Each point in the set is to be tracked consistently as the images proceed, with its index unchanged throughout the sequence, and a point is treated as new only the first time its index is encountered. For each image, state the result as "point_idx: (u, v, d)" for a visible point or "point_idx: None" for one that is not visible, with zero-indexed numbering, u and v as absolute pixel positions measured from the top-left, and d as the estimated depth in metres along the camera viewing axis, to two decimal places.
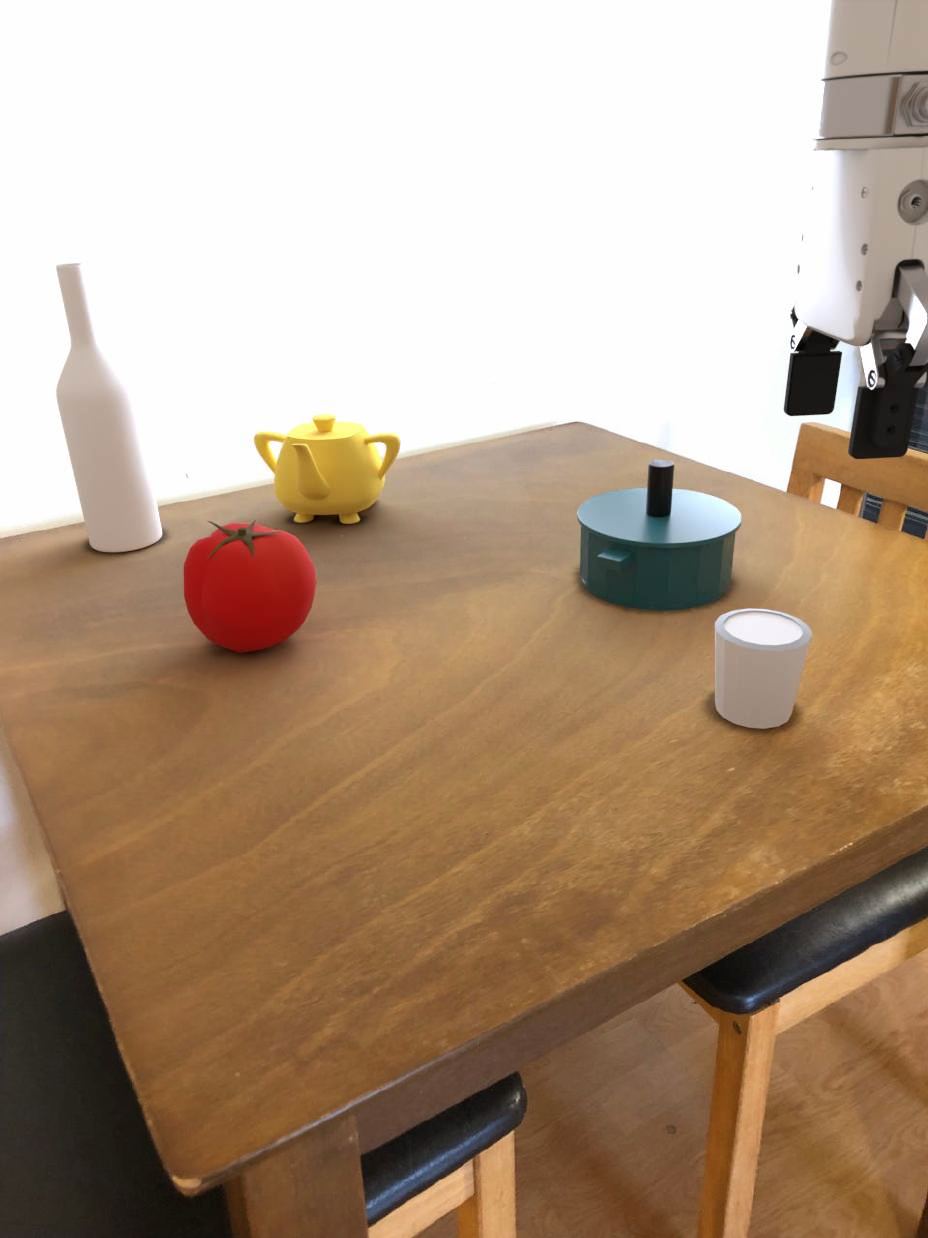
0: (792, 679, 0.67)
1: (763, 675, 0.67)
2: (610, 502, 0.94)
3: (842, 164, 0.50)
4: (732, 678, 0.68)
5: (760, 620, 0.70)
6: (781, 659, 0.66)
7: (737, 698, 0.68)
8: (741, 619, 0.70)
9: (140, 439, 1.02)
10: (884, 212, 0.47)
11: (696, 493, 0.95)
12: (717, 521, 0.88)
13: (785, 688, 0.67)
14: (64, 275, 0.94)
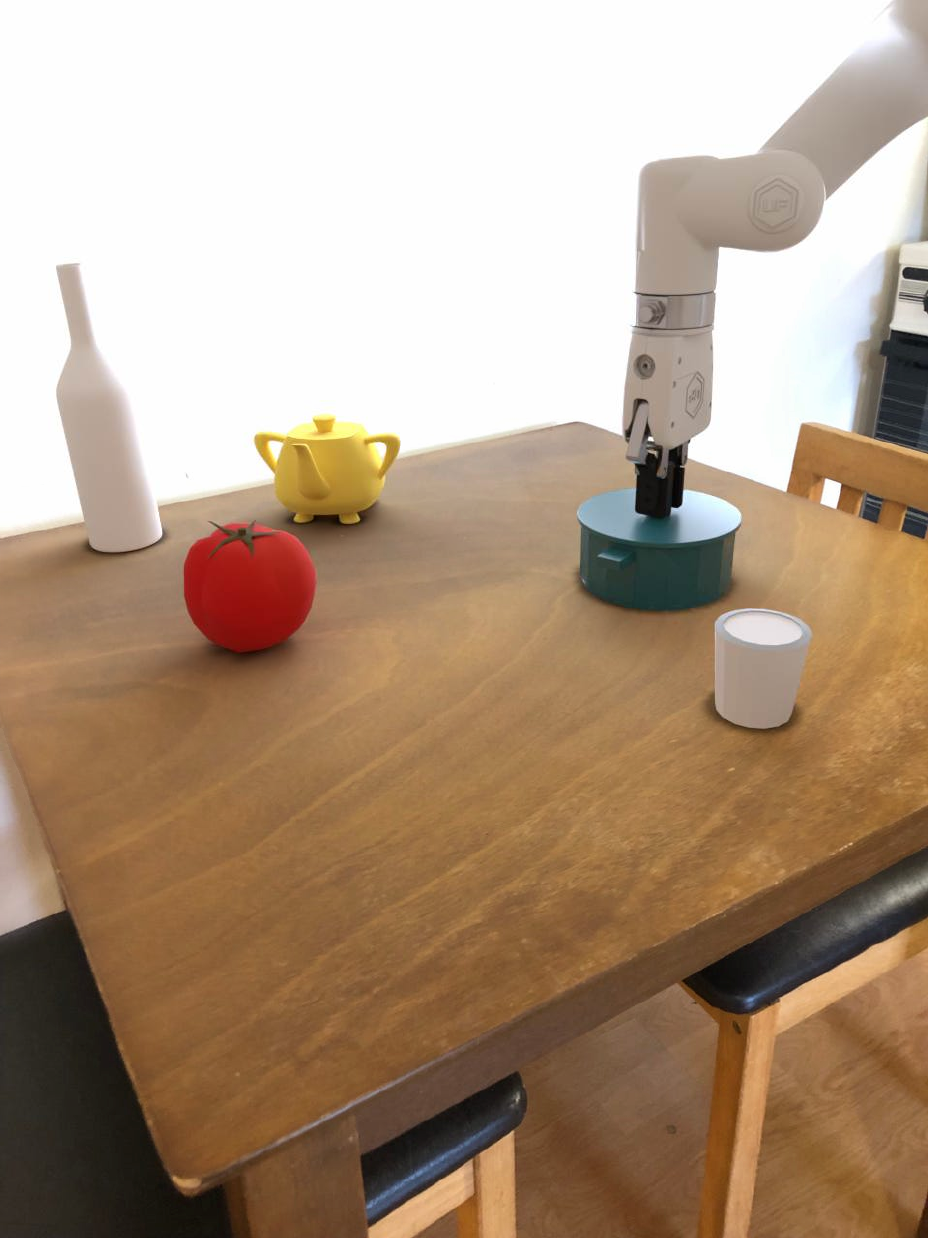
0: (792, 679, 0.67)
1: (763, 675, 0.67)
2: (610, 502, 0.94)
3: None
4: (732, 678, 0.68)
5: (760, 620, 0.70)
6: (781, 659, 0.66)
7: (737, 698, 0.68)
8: (741, 619, 0.70)
9: (140, 439, 1.02)
10: (628, 369, 0.82)
11: (696, 493, 0.95)
12: (717, 521, 0.88)
13: (785, 688, 0.67)
14: (64, 275, 0.94)
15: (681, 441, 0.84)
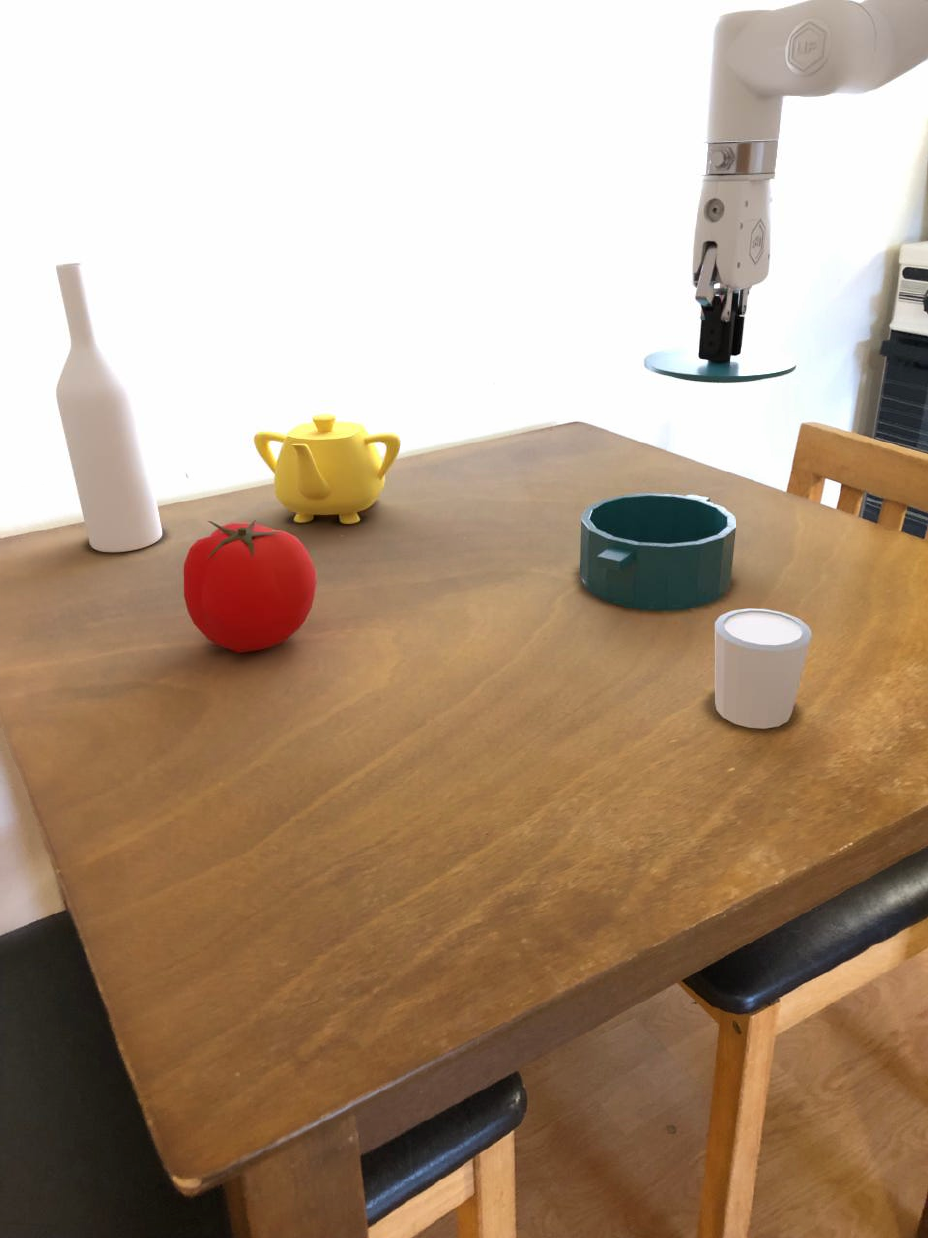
0: (792, 679, 0.67)
1: (763, 675, 0.67)
2: (673, 354, 1.02)
3: None
4: (732, 678, 0.68)
5: (760, 620, 0.70)
6: (781, 659, 0.66)
7: (737, 698, 0.68)
8: (741, 619, 0.70)
9: (140, 439, 1.02)
10: (698, 214, 0.90)
11: (751, 348, 1.03)
12: (774, 363, 0.96)
13: (785, 688, 0.67)
14: (64, 275, 0.94)
15: (745, 284, 0.92)
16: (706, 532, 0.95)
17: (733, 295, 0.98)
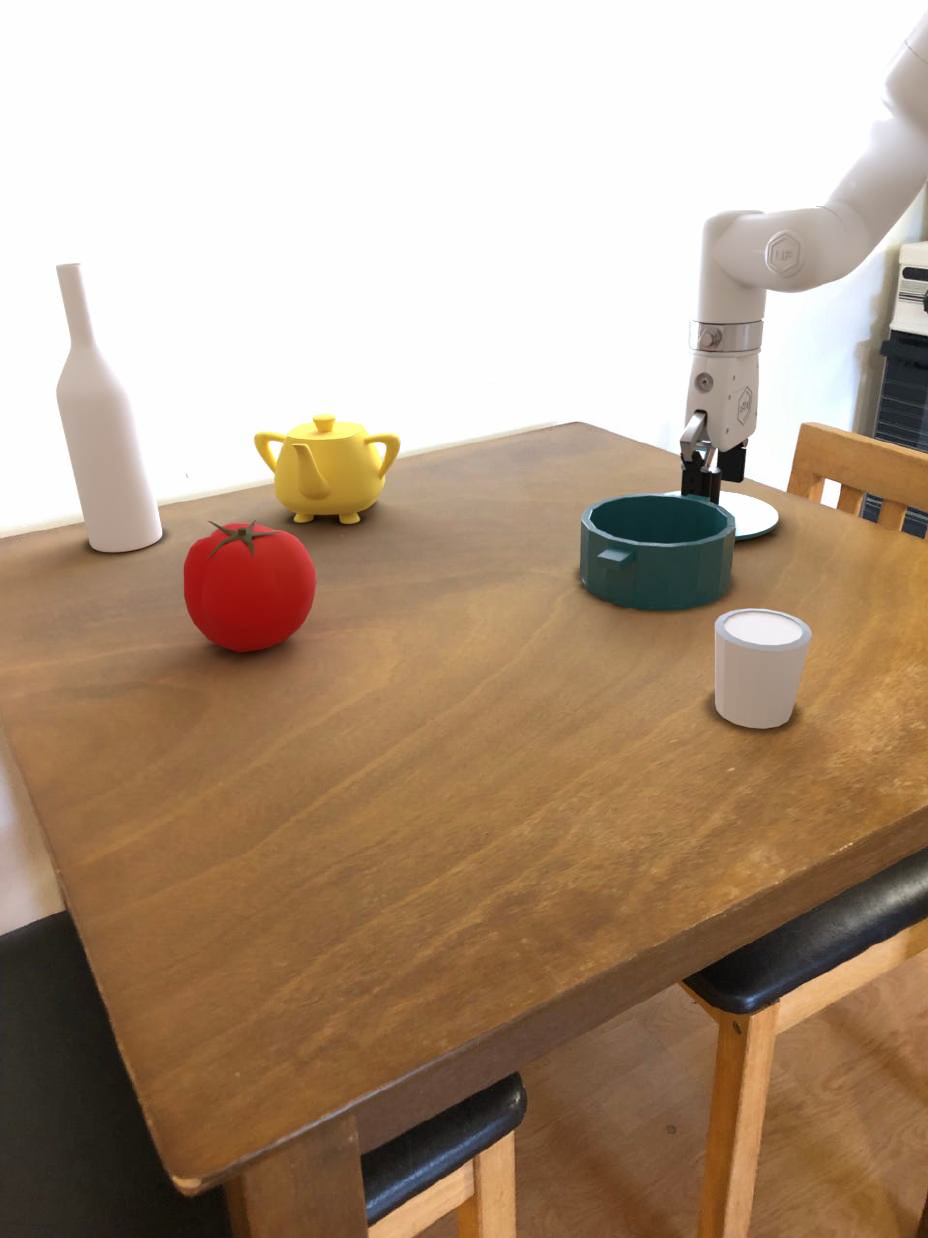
0: (792, 679, 0.67)
1: (763, 675, 0.67)
2: None
3: None
4: (732, 678, 0.68)
5: (760, 620, 0.70)
6: (781, 659, 0.66)
7: (737, 698, 0.68)
8: (741, 619, 0.70)
9: (140, 439, 1.02)
10: (689, 385, 0.98)
11: (737, 495, 1.12)
12: (758, 518, 1.04)
13: (785, 688, 0.67)
14: (64, 275, 0.94)
15: (733, 444, 1.00)
16: (706, 532, 0.95)
17: None
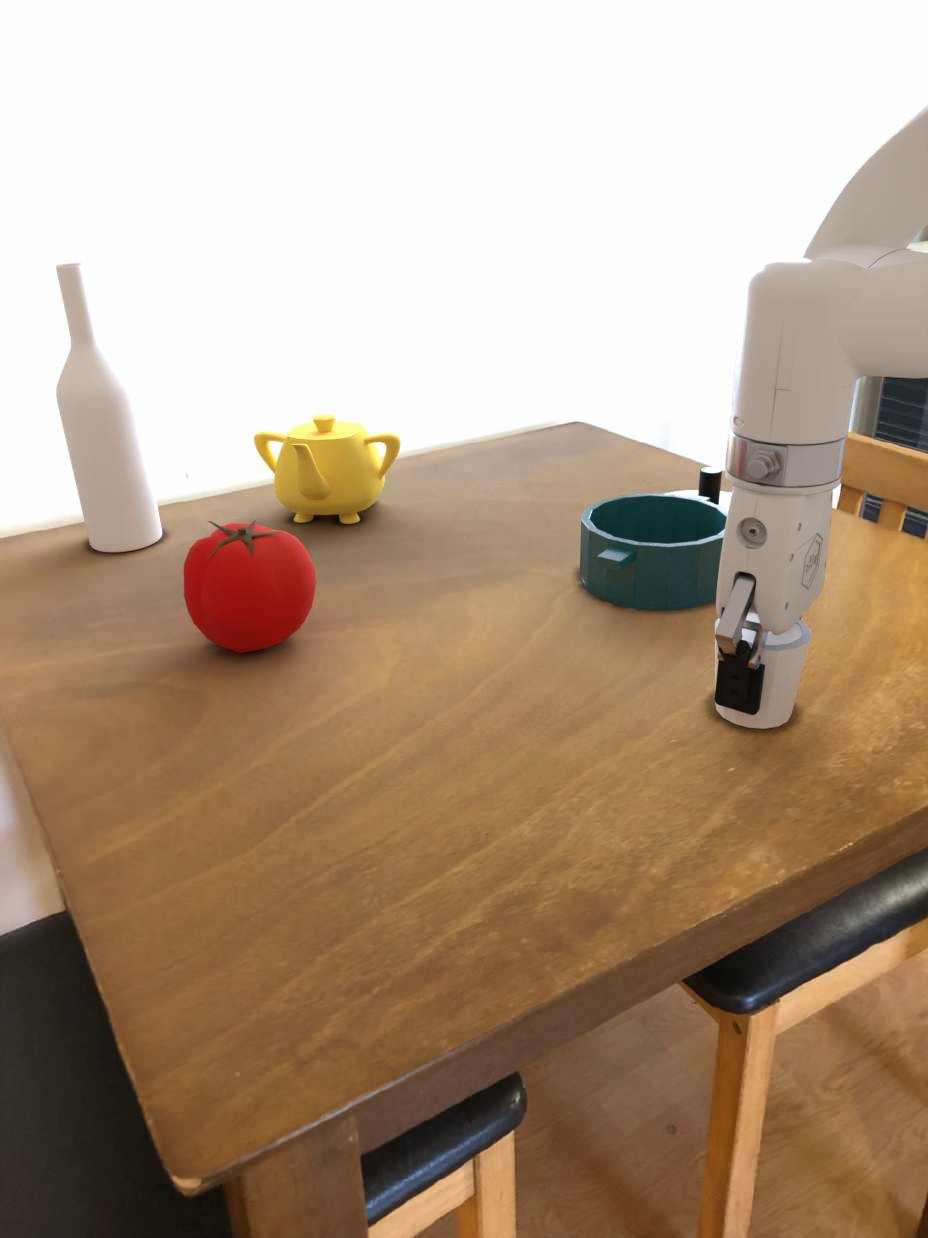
0: (791, 679, 0.67)
1: None
2: None
3: None
4: None
5: None
6: (781, 659, 0.66)
7: None
8: None
9: (140, 439, 1.02)
10: (728, 534, 0.62)
11: None
12: None
13: (785, 688, 0.67)
14: (64, 275, 0.94)
15: (794, 621, 0.64)
16: (706, 532, 0.95)
17: None
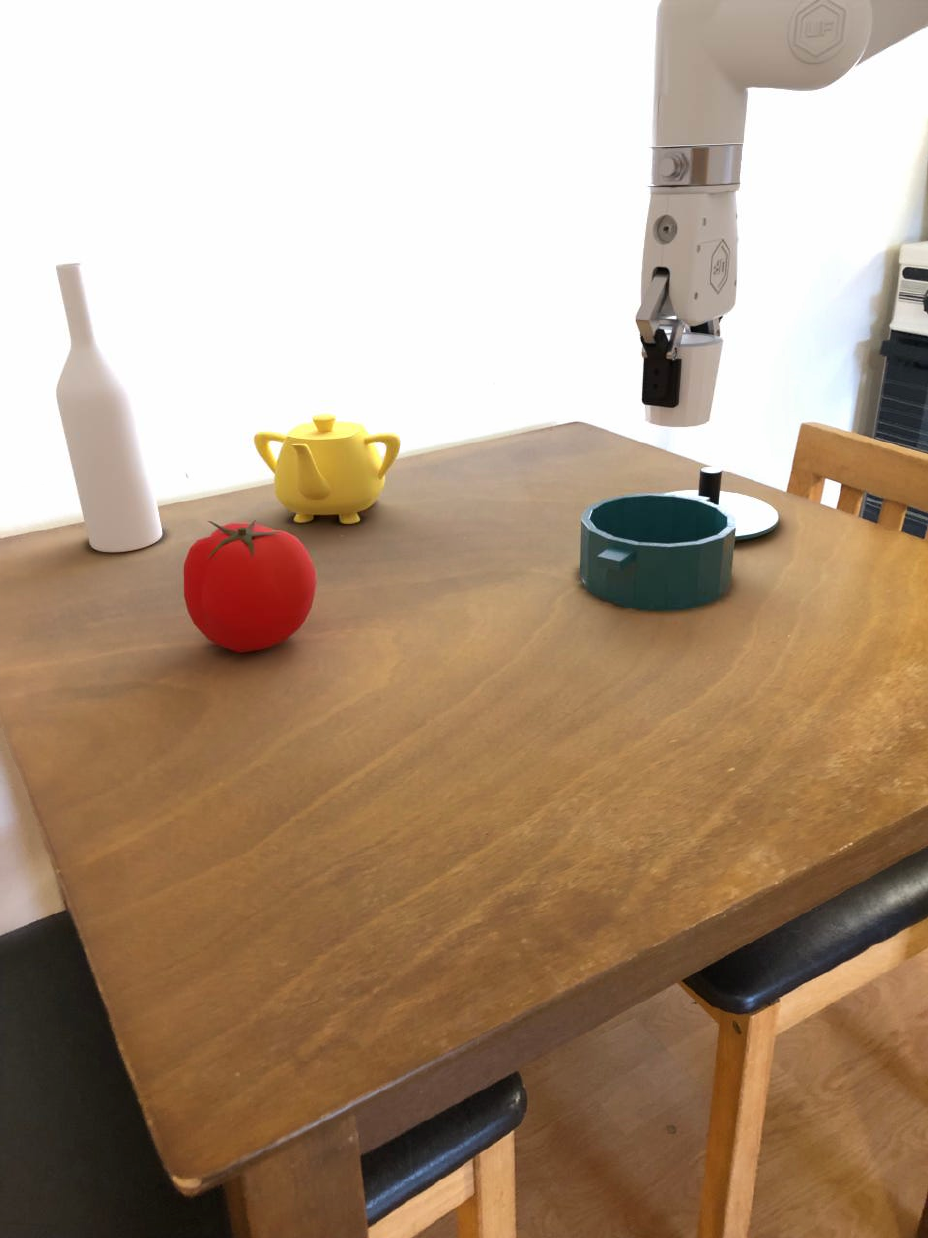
0: (706, 378, 0.79)
1: (681, 372, 0.78)
2: None
3: None
4: None
5: None
6: (695, 355, 0.77)
7: None
8: None
9: (140, 439, 1.02)
10: (646, 235, 0.74)
11: (737, 495, 1.12)
12: (758, 518, 1.04)
13: (700, 386, 0.79)
14: (64, 275, 0.94)
15: (705, 317, 0.76)
16: (706, 532, 0.95)
17: None
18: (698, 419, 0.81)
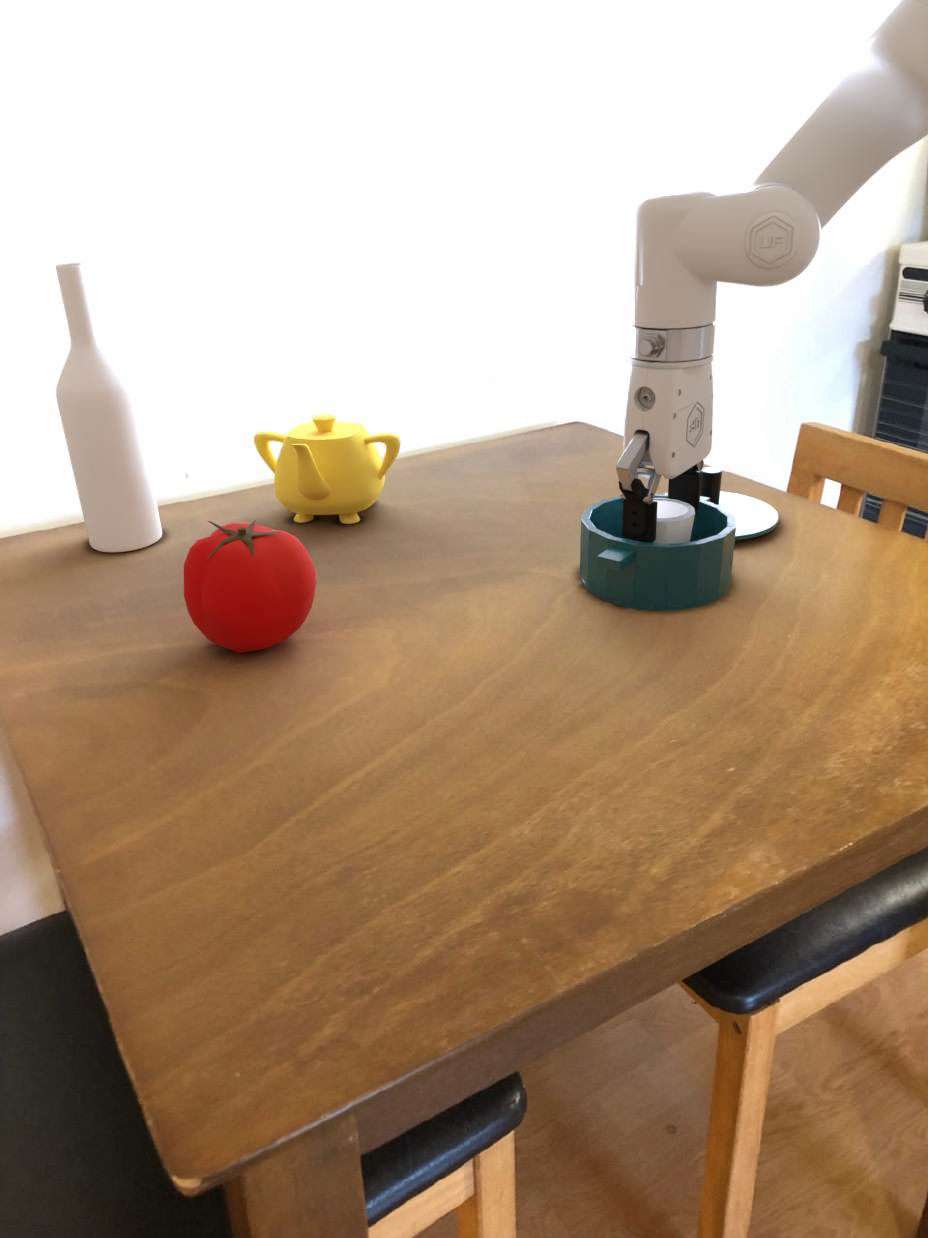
0: None
1: (657, 542, 0.88)
2: None
3: None
4: None
5: (658, 504, 0.91)
6: (669, 528, 0.88)
7: None
8: None
9: (140, 439, 1.02)
10: (628, 401, 0.83)
11: (737, 495, 1.12)
12: (758, 518, 1.04)
13: None
14: (64, 275, 0.94)
15: (682, 470, 0.85)
16: (706, 532, 0.95)
17: None
18: None
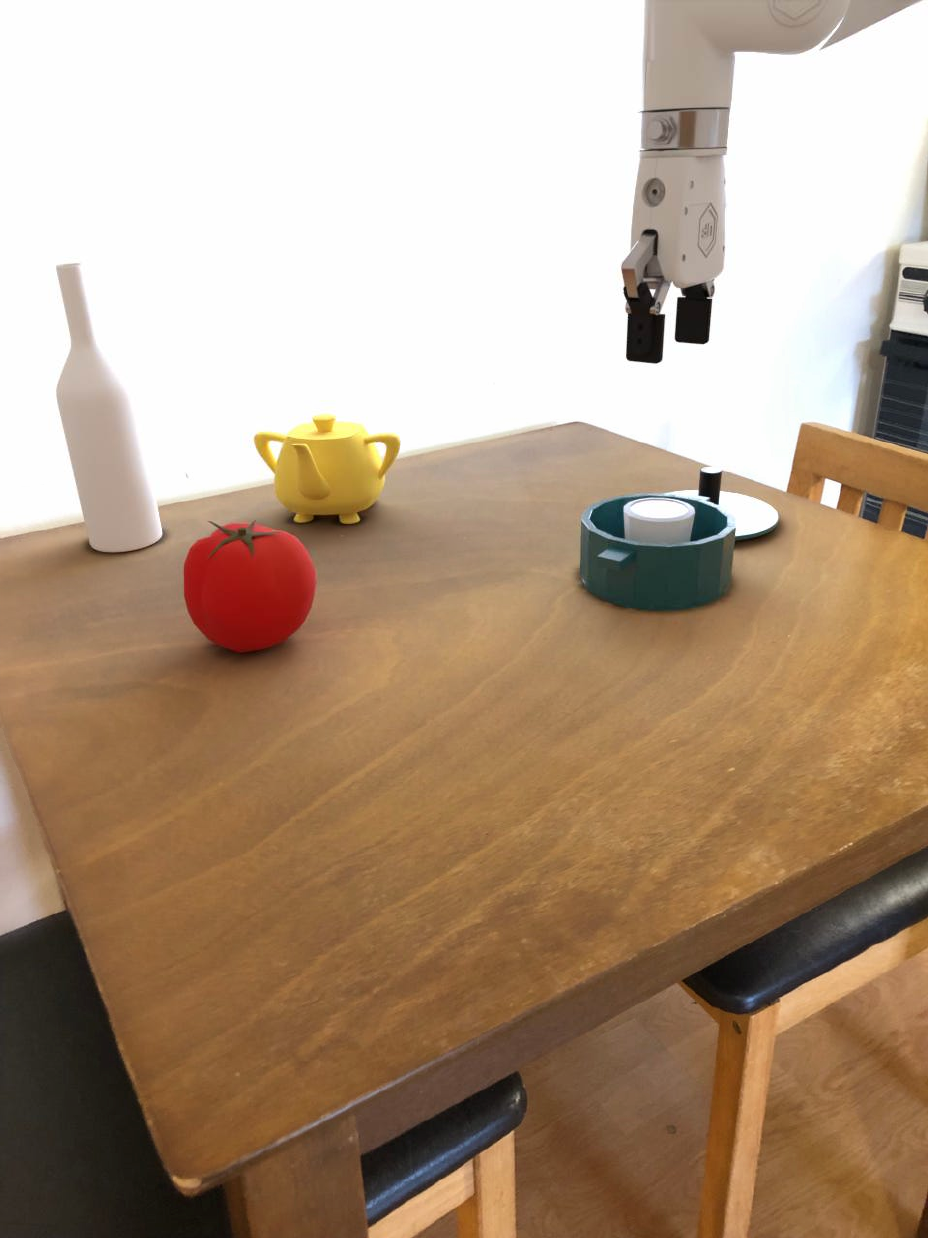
0: None
1: (657, 542, 0.88)
2: None
3: None
4: None
5: (658, 504, 0.91)
6: (669, 528, 0.88)
7: None
8: (644, 504, 0.92)
9: (140, 439, 1.02)
10: (635, 198, 0.75)
11: (737, 495, 1.12)
12: (758, 518, 1.04)
13: None
14: (64, 275, 0.94)
15: (693, 280, 0.78)
16: (706, 532, 0.95)
17: None
18: None
